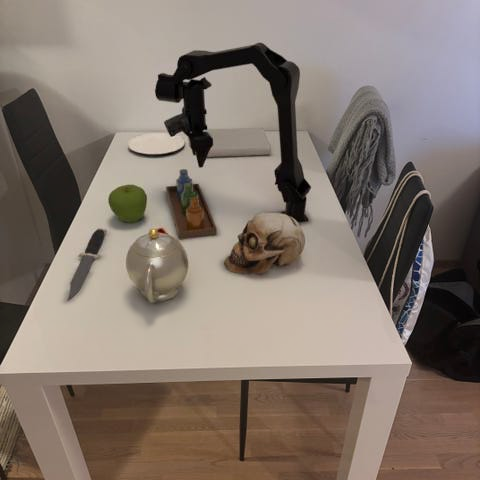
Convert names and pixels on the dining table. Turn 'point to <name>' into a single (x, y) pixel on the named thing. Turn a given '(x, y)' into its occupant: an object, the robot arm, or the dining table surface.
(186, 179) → the blue bottle
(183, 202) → the green bottle
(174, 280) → the teapot
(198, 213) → the amber bottle
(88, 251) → the knife
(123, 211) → the apple
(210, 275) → the dining table surface
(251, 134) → the book
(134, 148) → the plate
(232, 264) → the skull
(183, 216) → the tray
